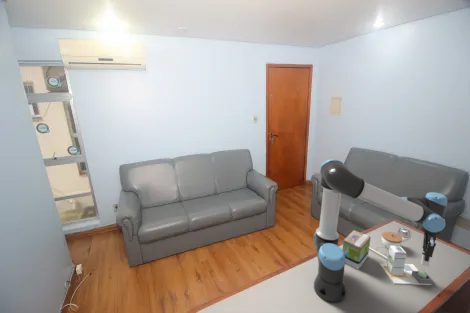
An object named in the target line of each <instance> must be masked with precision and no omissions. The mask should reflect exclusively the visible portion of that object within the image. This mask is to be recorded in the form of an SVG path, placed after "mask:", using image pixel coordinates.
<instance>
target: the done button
mask: <svg viewBox="0 0 470 313" xmlns="http://www.w3.org/2000/svg"><path fill="white" fill-rule="evenodd" d="M417 275H418V276H419V277H420V278H427V275H428V273H427V272H426V271H425V270H421V269H418V274H417Z"/></svg>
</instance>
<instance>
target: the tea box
mask: <svg viewBox="0 0 470 313" xmlns="http://www.w3.org/2000/svg"><path fill="white" fill-rule="evenodd" d="M370 244H371V236H370V235H367V234H365V233H363V232H359V231H357V230H354V229H353V230H352V231H351V232H350V233H349V234H347V236H346V237H345V238H344V239H343V242H342V248H341V249H342V250H343V252H344V254H345V264H346V265H348V266H350V267H352V268H354V269H357V270H359V269H360V268H361V266H362V265H364V263H365V262H366V260H367V259H368V258H369V257H368V256H369V252H370Z"/></svg>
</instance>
